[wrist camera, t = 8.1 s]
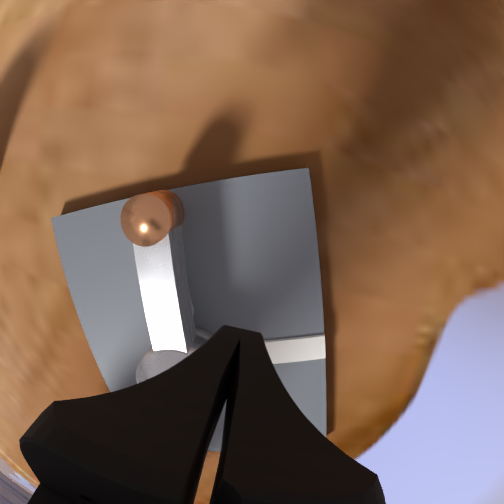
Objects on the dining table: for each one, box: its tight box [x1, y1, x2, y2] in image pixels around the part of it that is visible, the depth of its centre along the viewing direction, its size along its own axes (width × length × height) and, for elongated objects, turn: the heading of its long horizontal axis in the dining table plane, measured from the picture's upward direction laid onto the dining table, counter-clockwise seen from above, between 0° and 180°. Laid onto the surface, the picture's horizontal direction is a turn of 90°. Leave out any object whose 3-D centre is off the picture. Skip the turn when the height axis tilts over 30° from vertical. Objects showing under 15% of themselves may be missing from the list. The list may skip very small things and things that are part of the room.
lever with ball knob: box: [120, 190, 207, 384], centre depth 14 cm, size 13×5×2 cm, turn 3°
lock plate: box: [51, 168, 326, 451], centre depth 18 cm, size 20×16×2 cm
